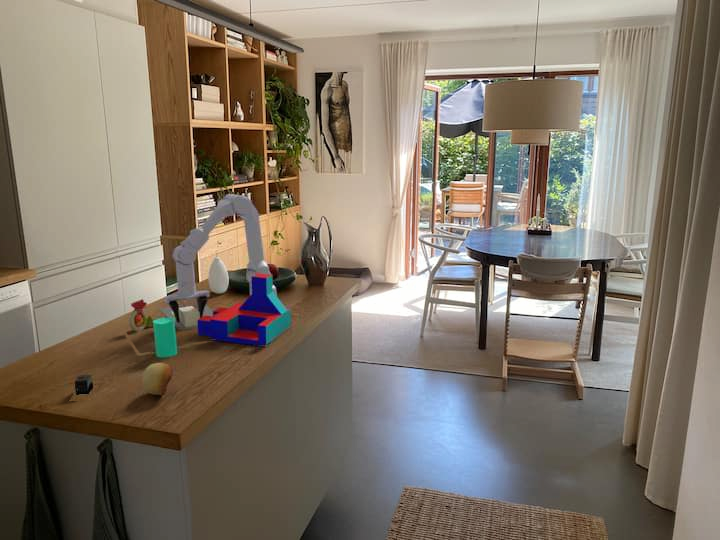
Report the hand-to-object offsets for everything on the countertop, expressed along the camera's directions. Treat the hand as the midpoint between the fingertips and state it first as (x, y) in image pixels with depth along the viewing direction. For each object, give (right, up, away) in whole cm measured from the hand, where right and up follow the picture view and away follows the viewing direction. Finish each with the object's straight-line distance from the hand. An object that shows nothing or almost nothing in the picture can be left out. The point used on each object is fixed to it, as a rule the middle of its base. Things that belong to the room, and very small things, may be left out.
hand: (189, 319), depth 191 cm
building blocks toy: (+20, -3, -8) cm, 22 cm away
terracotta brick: (-5, +4, +20) cm, 21 cm away
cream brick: (0, -1, 0) cm, 1 cm away
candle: (+1, -8, -25) cm, 27 cm away
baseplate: (-2, 0, +9) cm, 9 cm away
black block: (-11, -15, -50) cm, 53 cm away
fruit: (+8, -14, -52) cm, 54 cm away
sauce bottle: (+1, +7, +39) cm, 39 cm away
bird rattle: (-14, -3, -5) cm, 15 cm away
